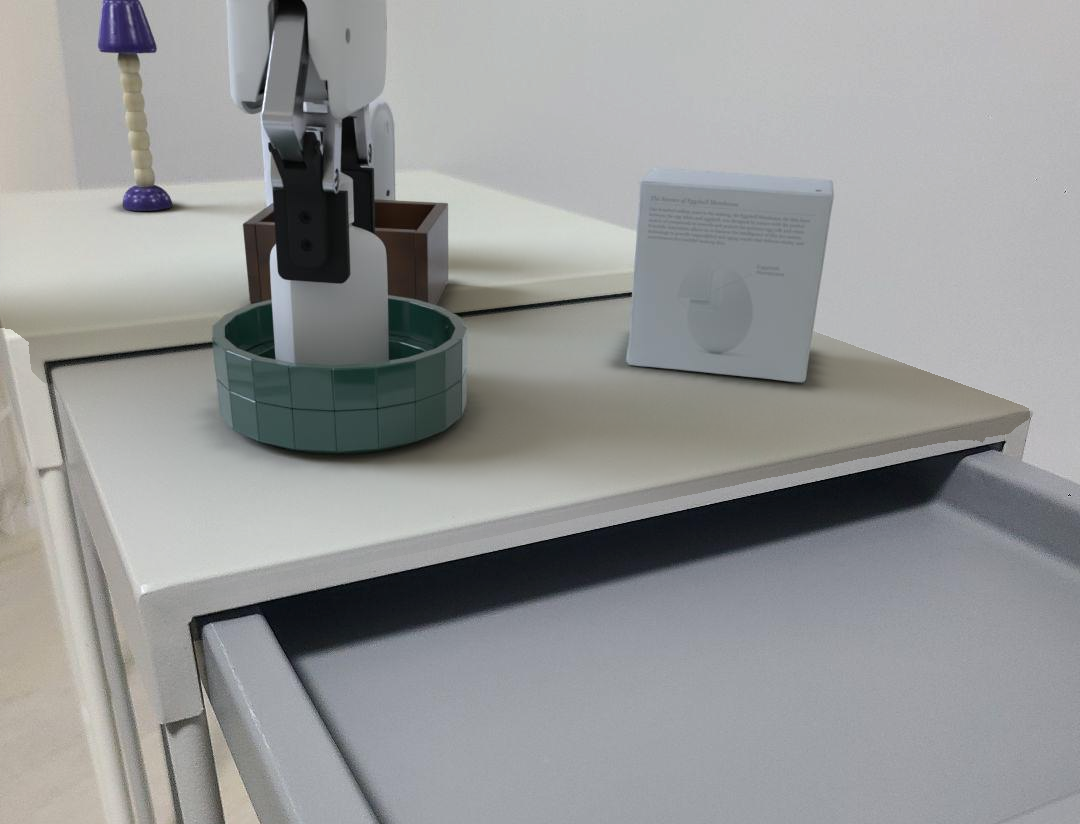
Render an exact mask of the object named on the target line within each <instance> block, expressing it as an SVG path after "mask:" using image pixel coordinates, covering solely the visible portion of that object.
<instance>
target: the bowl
mask: <svg viewBox="0 0 1080 824" xmlns="http://www.w3.org/2000/svg"><path fill="white" fill-rule="evenodd" d="M388 337H389V361H383V362H376V363H364V364H343V365H325V364H307V363H292V362H287V361H281V360H276V358H275V343H274V328H273V312H272V300H267V301H263V302H259V303H255V304H250V303H249V304H248V305H244V306H242V307H240V308H238V309H235V310H233V311H230V312H228V313H226V314H224V315H222V317H221V318H219V319H218V320H217V321H216V322H215V323H214V324H213V325H212V326H211V341H212V342H211V343H212V351H213V361H214V369H215V379H216V389H217V397H218V406H219V415H220V417H221V419H222V420H223V421H224V422H225V423H226V424H227V425H228V426H229V427H230V428H231V429H232V430H233V431H235V432H237V433H239V434H241V435H243V436H245V437H248V438H250V439H252V440H254V441H256V442H261V443H264V444H268V445H271V446H275V447H277V448H280V449H281V448H282V449H287V450H291V451H296V452H303V453H313V454H325V455H326V454H330V455H331V454H332V455H346V454H361V453H363V454H364V453H371V452H380V451H387V450H390V449H395V448H399V447H404V446H407V445H411V444H414V443H416V442H419V441H421V440H424V439H427V438H429V437H432V436H434V435H436V434H439V433H441V432H444V431H445V430H447V429H448V428H449V427H450V426H452V425H453V424H454V423H456V422H457V421H458V420H459V419H461V417H463V414H464V411H465V409H466V405H467V401H468V400H467V399H468V398H467V397H468V396H467V395H468V394H467V390H468V389H467V387H468V386H467V384H468V383H467V382H468V379H467V377H468V369H467V368H468V367H467V366H468V328H467V326H466V325H465V323H464V321H463V320H462V318H461V317H460V315H457V314H455V313H453V312H452V311H450V310H448V309H446V308H444V307H443V306H439V305H438V304H437V305H433V304H430V303H426V302H423V301H420V300H415V299H411V298H404V297H397V296H391V295H388Z"/></svg>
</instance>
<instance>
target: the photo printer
mask: <svg viewBox="0 0 1080 824" xmlns="http://www.w3.org/2000/svg"><path fill="white" fill-rule="evenodd" d="M303 111H305V112H307V106H306V102H304V104H303ZM369 111H370V124H371V136H372V149H373V157H372V164H371V166H361V167H366V168H374V194H375V199H377V200H396V145H395V144H396V143H395V142H396V141H395V140H396V139H395V122H394V121H395V120H394V116H393V115H394V114H393V112H392V108H391V107H390V104H389V103H388V102H386V101H385V100H384V99H381V98H380V97H377V98H376V99H375V100H373V101H372V102H371V103H369ZM260 130H261V131H260V132H261V146H262V161H263V171H264V172H263V173H264V174H263V175H264V186H265V187H264V189H265V204H266V207H268V206H269V205H271V204H272V203H273V191H272V184H271V153H270V152H269V149H268V142H270V140H269V137H268V135H267V133H266V131H265V129H264V126H263V121H262V112H260ZM306 132H310V131H308V130H306Z"/></svg>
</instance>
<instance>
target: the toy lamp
mask: <svg viewBox="0 0 1080 824" xmlns="http://www.w3.org/2000/svg"><path fill="white" fill-rule="evenodd" d="M99 18H100V20H99V30H98V39H97V48H98V50H99V52H101V53H105V54H106V53H108V54H117V65H118V69H119V71H120V72H121V73H120V76H119V82H120V83H119V84H120V86H121V89H122V91H123V94H122V103H123V107H124V109H125V110H126V112H125V115H124V118H125V124H126V127H127V129H128V130H129V131H128V134H127V138H128V140H127V141H128V143H129V146H130V148H131V152H130V157H131V161H132V165H133V167H134V171H133V178H134V182H135V184H136V185H133V186H131V187H129V188H128V189H127V190H126V191H125V193H124V195H123V199H122V208H123V209H124V210H127V211H134V212H137V211H138V212H147V211H148V212H149V211H161V210H165V209H170V208H171V207H173V201H172V198H171V196H170V195H169V193H168V192H167V190H165V189H164V188H162V187H160V186H158V185H157V184H155V182H156V175H155V172H154V171H155V170H154V169H153V168H152V166H153V155H152V152H151V150H150V146H151V137H150V135H149V134H150V133H148V131H147V129H148V119H147V115H146V113H145V112H144V111H145V106H146V105H145V97H144V95H143V93H142V90H143V80H142V77H141V75H140V73H139V72H140V69H141V62H140V58H139V55H138V54H156V53H157V50H158V48H157V43H156V41H155V37H154V35H153V31H152V29H151V26H150V24H149V20H148V18H147V16H146V13H145V9H144V8H143V5H142V3H141V1H140V0H102V2H101V8H100V17H99Z"/></svg>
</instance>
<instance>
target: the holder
mask: <svg viewBox="0 0 1080 824" xmlns="http://www.w3.org/2000/svg"><path fill="white" fill-rule="evenodd" d="M242 233H243V240H244V241H243V243H244V252H245V253H244V254H245V262H246V263H245V264H246V265H245V266H246V273H247V274H246V275H247V285H248V296H249V305H250V304H255V303H259V302H263V301H267V300H272V296H271V278H270V254H271V250H272V248H273V247H274V246H275V244H276V237H275V222H274V206H273V203H272V204H271V205H269V206H268V207H267V206H266V207H265V208H263V209H262V210H260V211H259V212H257V213H256V214H254V215H253V216H252V217H251V218H249V219H247V220H246V221H245V222H244V223H242ZM375 235H376V236H377V237H378V238H379V239H380V240H381V241H382V242H383V244H384V246H385V249H386V256H387V283H388V295H391V296H397V297H404V298H411V299H415V300H420V301H423V302H426V303H430V304H433V305H437V306H438V303H439V301H440V299H441V297H442V295H443V294H444V291H445V289H446V287H447V286H448V284H449V203H448V202H433V201H417V200H415V201H414V200H397V199H395V200H377V199H375Z"/></svg>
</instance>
